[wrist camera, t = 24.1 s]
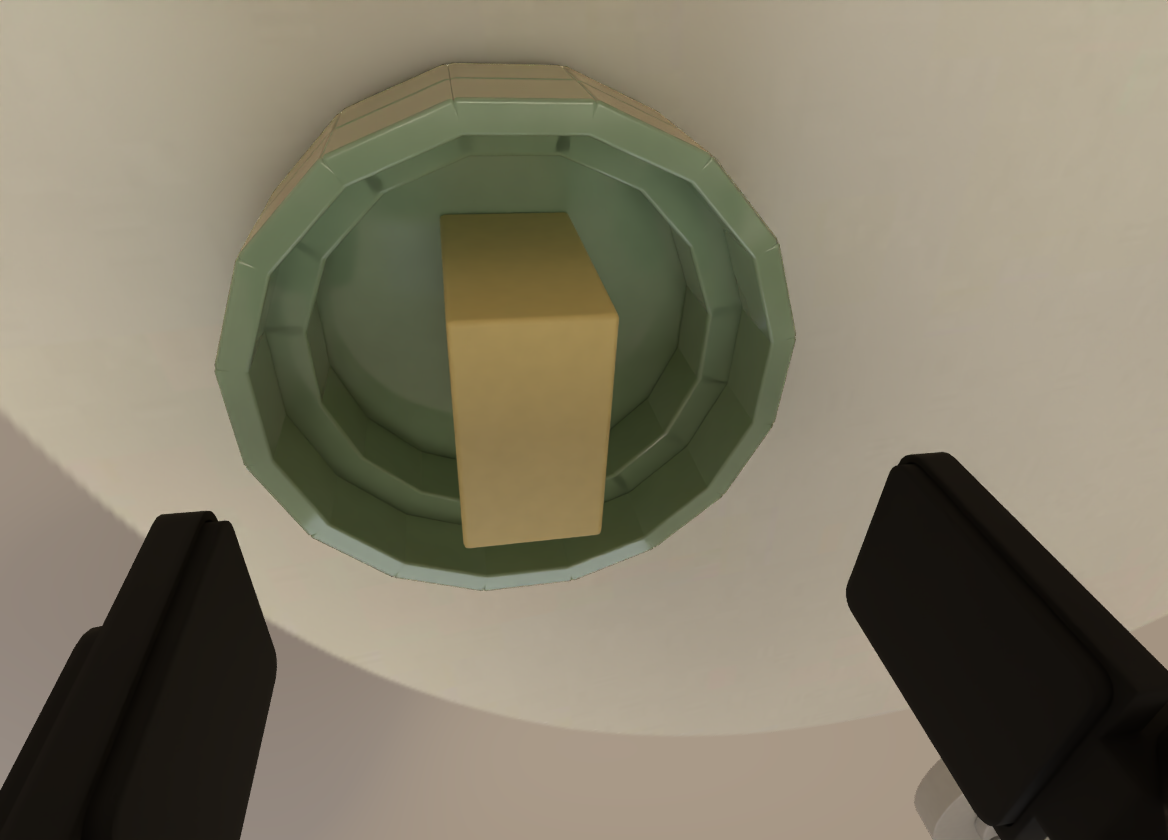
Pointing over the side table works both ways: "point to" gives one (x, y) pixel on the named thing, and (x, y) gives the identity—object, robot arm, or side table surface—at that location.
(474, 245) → the butter slice
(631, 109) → the dish
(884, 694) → the side table surface
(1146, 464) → the side table surface
